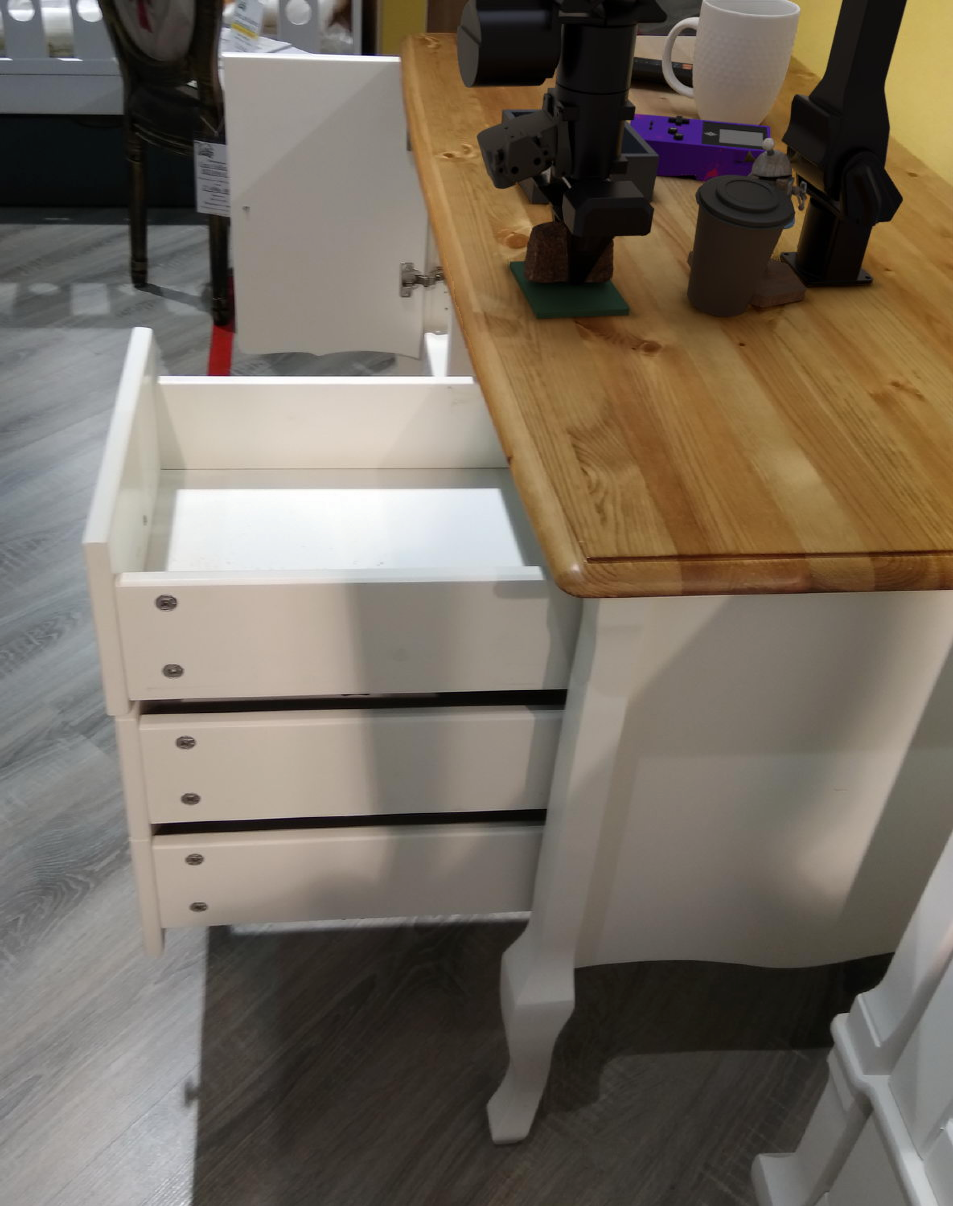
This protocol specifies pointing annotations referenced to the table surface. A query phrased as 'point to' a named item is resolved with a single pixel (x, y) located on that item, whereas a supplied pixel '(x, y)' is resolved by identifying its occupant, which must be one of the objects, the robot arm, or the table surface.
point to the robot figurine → (778, 276)
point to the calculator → (661, 71)
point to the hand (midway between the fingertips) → (570, 276)
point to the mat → (569, 297)
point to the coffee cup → (734, 241)
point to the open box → (638, 172)
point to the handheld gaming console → (700, 145)
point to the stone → (559, 256)
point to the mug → (736, 57)
